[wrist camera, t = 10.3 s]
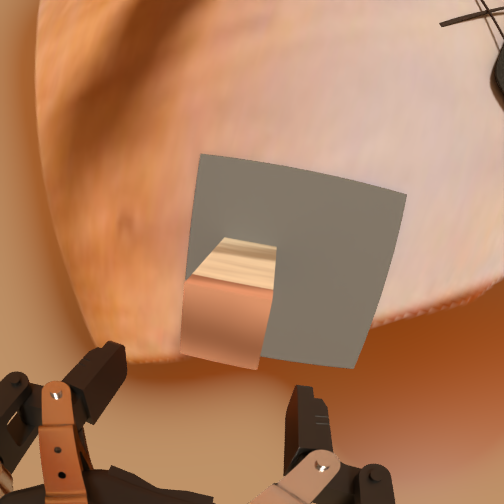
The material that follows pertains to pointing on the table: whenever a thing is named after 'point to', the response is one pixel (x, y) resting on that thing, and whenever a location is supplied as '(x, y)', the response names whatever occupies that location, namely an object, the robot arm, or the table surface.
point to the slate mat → (303, 250)
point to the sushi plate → (503, 63)
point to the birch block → (229, 304)
